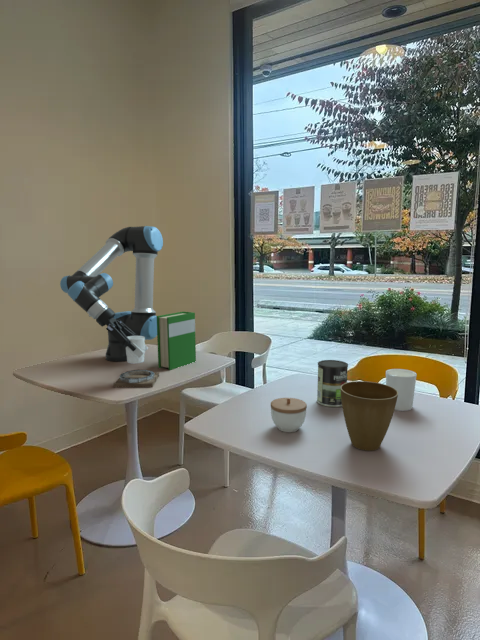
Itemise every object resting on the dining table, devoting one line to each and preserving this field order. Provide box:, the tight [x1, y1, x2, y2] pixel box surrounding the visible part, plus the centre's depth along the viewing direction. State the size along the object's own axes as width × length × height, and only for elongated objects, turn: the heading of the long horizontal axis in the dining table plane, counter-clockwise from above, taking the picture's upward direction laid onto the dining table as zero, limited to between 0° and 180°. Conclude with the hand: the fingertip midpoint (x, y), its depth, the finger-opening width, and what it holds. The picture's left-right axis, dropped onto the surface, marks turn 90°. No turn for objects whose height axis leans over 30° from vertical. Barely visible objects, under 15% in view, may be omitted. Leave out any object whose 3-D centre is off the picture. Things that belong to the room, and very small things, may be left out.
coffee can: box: [316, 359, 349, 408], centre depth 150 cm, size 10×10×14 cm
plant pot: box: [340, 380, 398, 452], centre depth 117 cm, size 15×15×16 cm
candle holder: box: [385, 368, 418, 412], centre depth 146 cm, size 10×10×12 cm
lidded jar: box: [270, 397, 308, 433], centre depth 129 cm, size 11×11×9 cm
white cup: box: [126, 336, 146, 365], centre depth 174 cm, size 8×8×10 cm
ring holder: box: [113, 369, 160, 388], centre depth 176 cm, size 15×15×3 cm
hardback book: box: [156, 311, 197, 371], centre depth 200 cm, size 18×7×24 cm, turn 145°
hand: (143, 352), depth 174 cm, fingers closed on white cup, 8 cm apart
